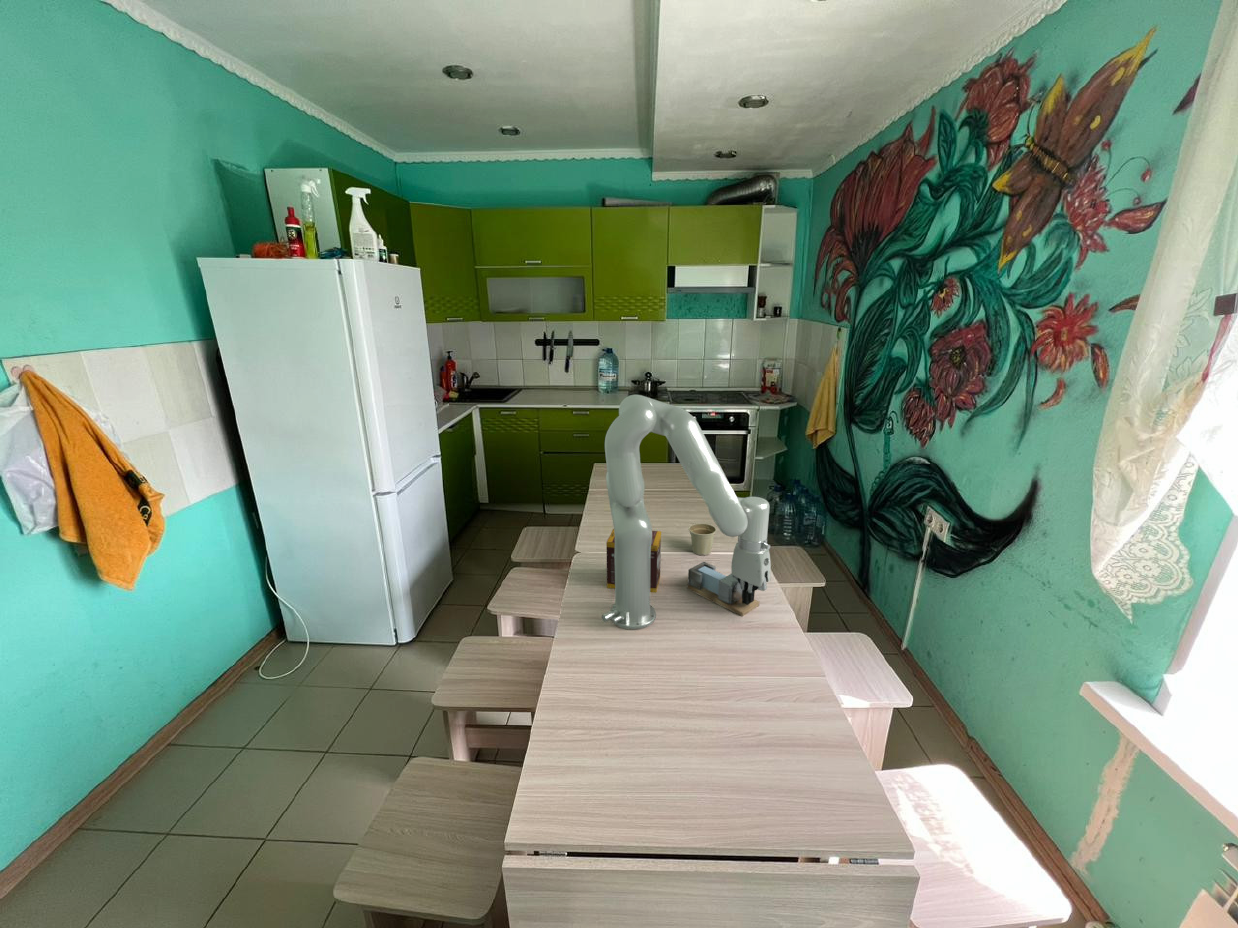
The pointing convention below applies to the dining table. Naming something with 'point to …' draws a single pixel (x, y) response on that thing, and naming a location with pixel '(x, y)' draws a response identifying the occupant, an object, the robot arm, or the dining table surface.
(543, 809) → the dining table surface
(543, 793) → the dining table surface
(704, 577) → the light blue block
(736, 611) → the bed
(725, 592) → the grey concrete block
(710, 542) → the flower pot
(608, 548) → the supplement box
